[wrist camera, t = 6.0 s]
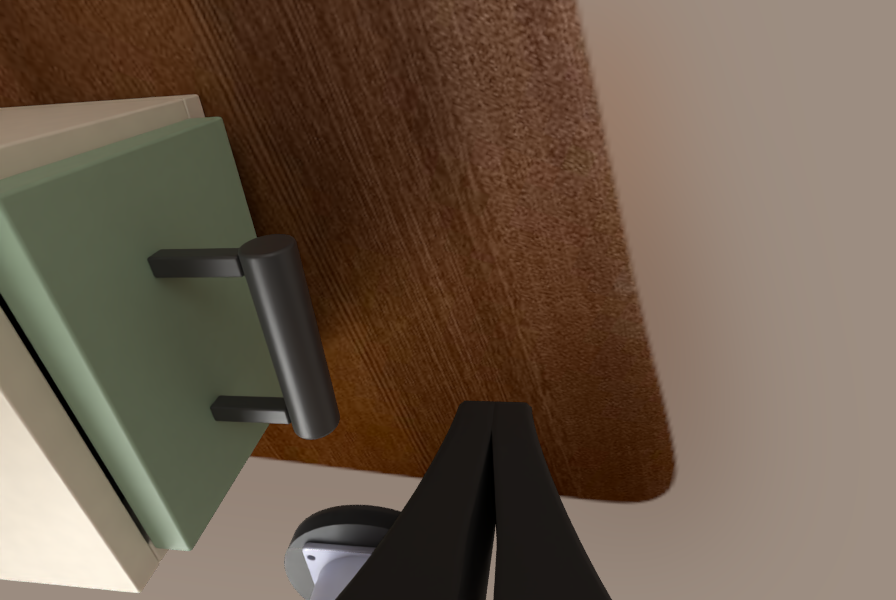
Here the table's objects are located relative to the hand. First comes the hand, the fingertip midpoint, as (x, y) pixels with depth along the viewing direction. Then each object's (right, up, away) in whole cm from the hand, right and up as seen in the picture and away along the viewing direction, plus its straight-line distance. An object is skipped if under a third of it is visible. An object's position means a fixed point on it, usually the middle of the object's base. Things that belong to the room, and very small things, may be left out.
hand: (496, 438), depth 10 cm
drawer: (-12, +4, +9) cm, 16 cm away
